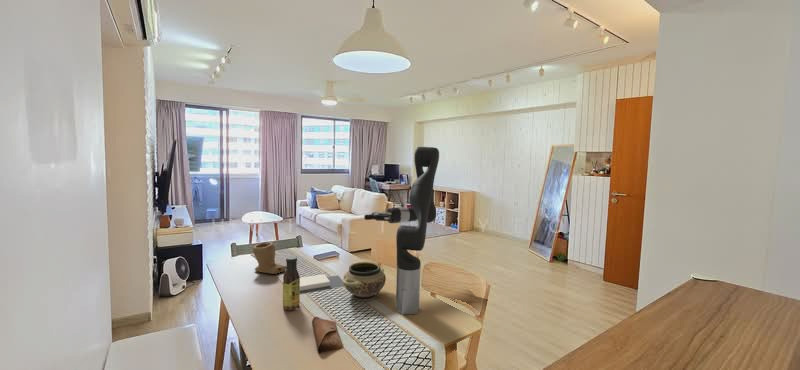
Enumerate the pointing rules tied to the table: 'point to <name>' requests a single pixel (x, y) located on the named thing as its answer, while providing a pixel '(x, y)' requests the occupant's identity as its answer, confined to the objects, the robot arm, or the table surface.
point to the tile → (314, 282)
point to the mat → (334, 283)
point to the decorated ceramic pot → (364, 280)
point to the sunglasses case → (326, 335)
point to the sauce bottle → (291, 285)
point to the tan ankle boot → (267, 258)
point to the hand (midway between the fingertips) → (365, 217)
